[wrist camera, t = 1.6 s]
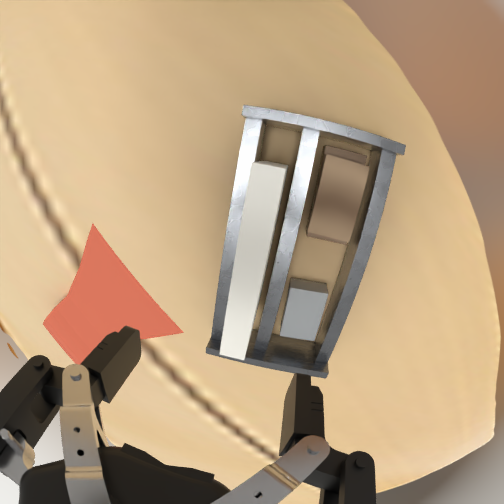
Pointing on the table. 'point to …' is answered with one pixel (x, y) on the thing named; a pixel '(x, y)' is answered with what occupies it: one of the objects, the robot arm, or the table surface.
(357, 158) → the offcut
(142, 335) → the sheet
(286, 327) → the offcut
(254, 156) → the rack
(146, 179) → the table surface
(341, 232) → the offcut
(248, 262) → the white flat board
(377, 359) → the table surface
